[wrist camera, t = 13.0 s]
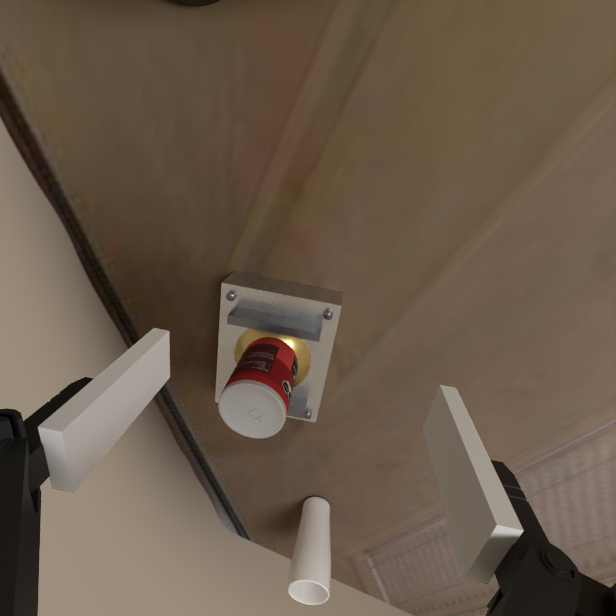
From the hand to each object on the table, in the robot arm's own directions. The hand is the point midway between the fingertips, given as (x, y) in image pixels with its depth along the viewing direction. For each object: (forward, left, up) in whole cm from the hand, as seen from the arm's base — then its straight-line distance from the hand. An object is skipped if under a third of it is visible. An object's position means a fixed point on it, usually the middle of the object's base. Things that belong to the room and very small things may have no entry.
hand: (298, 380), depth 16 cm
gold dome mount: (+17, -5, -32) cm, 36 cm away
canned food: (+17, -5, -27) cm, 32 cm away
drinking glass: (+52, +7, -32) cm, 61 cm away
